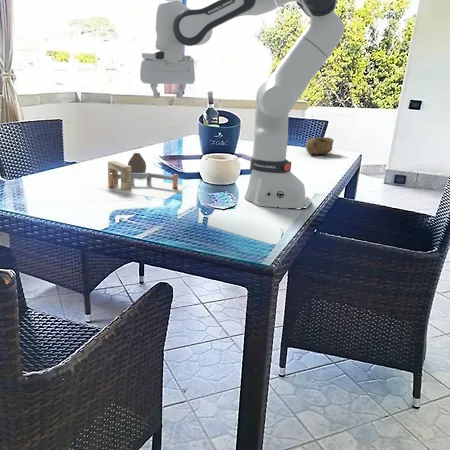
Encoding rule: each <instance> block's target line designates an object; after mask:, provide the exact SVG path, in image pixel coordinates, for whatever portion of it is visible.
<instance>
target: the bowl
mask: <svg viewBox="0 0 450 450" xmlns="http://www.w3.org/2000/svg"><path fill="white" fill-rule="evenodd" d="M334 141H335V140H334V138H331V137H321V136H319V137H315V136H314V137H309V138H307V139H306V143H305V148H306V150H307V152H308V153H309V154H310V155H319V154H322V155H326V154H328V153H330V152H331V151H332V150H333V144H334Z"/></svg>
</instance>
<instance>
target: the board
mask: <svg viewBox="0 0 450 450" xmlns="http://www.w3.org/2000/svg"><path fill="white" fill-rule="evenodd" d="M187 187H188V185H186V184H185V185H184V184H179V183H178V189H173V182H172V183H170V182H164V181H158V180H157V181H156V180H152V179H151V185H147V179H144V178H139V177H134V185H131V190H125V191H123V190H121V180H118V184H114V188H113V189H110V188H109V185H107V186H104V187H102V188H101V190H104V191H110V192H116V193H123V194H130V195H136V196H137V195H138V196H142V197H147V198H155V199H156V198H157V199H163V200H167V199H169V198H170V197H172V196H174V195H175V194H178V193H179V192H181V191H183V190H184V189H186V188H187Z"/></svg>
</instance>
